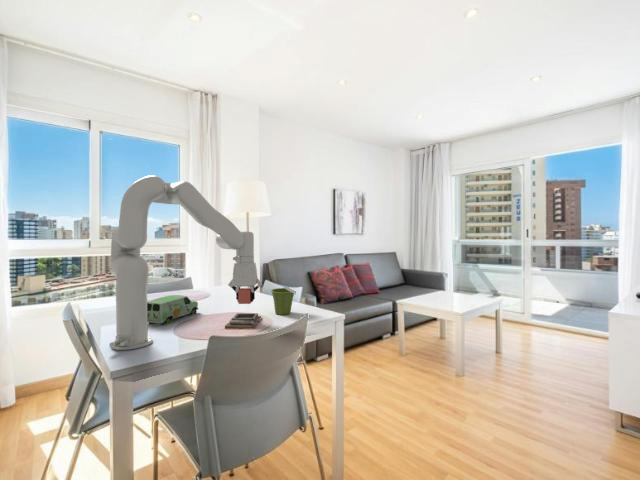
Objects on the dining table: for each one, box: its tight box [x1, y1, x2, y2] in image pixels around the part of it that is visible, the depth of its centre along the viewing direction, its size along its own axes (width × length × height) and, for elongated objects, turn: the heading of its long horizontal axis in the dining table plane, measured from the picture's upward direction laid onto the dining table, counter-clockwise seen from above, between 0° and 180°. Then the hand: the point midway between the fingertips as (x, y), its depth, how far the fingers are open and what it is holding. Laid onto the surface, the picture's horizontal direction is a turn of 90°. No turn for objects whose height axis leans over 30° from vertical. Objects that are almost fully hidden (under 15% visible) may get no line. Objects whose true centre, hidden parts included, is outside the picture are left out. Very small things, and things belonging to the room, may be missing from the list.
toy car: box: [147, 294, 199, 325], centre depth 150 cm, size 11×25×10 cm, turn 163°
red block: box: [237, 287, 252, 305], centre depth 145 cm, size 5×5×6 cm
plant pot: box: [270, 287, 295, 316], centre depth 160 cm, size 12×12×11 cm
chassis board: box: [224, 312, 262, 330], centre depth 143 cm, size 16×12×3 cm
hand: (245, 300), depth 145 cm, fingers closed on red block, 5 cm apart
